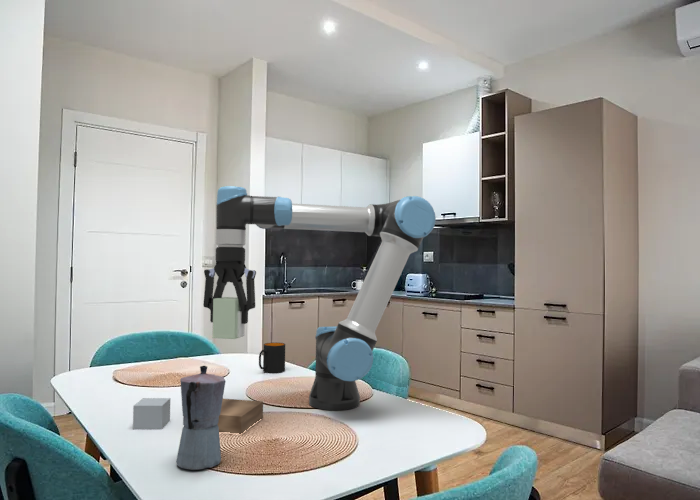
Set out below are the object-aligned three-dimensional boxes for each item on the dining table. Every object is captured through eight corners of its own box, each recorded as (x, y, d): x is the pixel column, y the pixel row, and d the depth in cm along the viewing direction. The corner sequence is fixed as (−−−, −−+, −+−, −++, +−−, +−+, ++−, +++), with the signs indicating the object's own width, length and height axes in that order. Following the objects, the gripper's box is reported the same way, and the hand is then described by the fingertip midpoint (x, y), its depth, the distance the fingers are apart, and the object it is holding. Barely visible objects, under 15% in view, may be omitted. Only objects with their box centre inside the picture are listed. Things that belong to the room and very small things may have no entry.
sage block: (244, 335, 135) (245, 297, 135) (234, 339, 129) (235, 299, 129) (223, 334, 136) (224, 297, 136) (212, 338, 130) (213, 298, 130)
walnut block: (262, 420, 137) (263, 401, 137) (241, 437, 123) (241, 416, 123) (214, 416, 140) (214, 397, 140) (188, 432, 126) (188, 412, 126)
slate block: (169, 421, 134) (170, 398, 134) (161, 429, 127) (162, 405, 127) (142, 421, 134) (143, 398, 134) (132, 430, 127) (133, 405, 127)
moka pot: (230, 450, 114) (232, 360, 114) (214, 480, 98) (216, 375, 99) (186, 450, 113) (188, 359, 114) (163, 480, 98) (166, 375, 98)
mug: (251, 373, 192) (251, 345, 193) (274, 368, 202) (274, 341, 202) (266, 376, 187) (267, 347, 188) (289, 371, 197) (289, 344, 197)
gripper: (270, 247, 134) (268, 335, 134) (204, 246, 139) (202, 332, 138) (259, 246, 127) (257, 339, 127) (189, 245, 131) (187, 336, 131)
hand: (228, 335), depth 132 cm, fingers closed on sage block, 6 cm apart
